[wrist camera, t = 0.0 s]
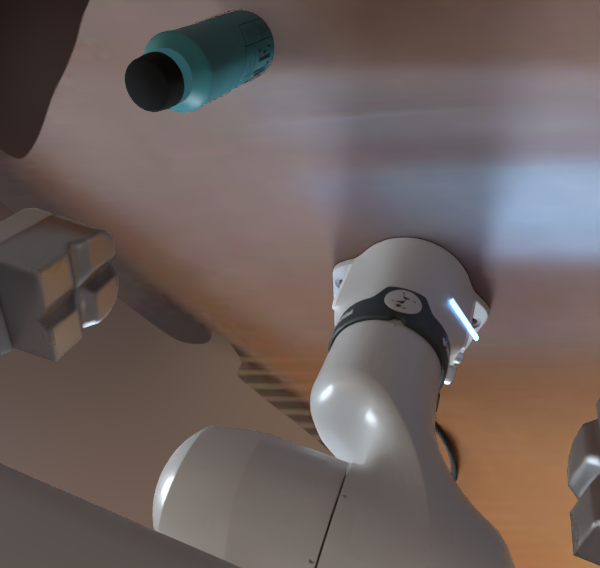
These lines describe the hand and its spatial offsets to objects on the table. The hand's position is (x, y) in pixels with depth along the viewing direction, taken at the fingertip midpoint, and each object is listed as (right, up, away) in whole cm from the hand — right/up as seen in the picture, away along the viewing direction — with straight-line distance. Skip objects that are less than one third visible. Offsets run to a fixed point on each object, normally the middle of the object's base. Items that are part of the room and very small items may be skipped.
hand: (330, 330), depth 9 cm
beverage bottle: (-5, +26, +46) cm, 53 cm away
